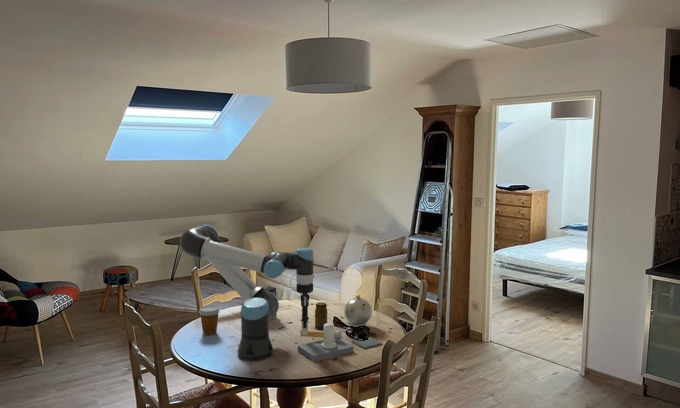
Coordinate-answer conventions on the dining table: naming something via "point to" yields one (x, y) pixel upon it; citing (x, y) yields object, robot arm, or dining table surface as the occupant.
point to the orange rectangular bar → (321, 334)
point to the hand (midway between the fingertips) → (304, 334)
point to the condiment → (320, 316)
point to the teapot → (358, 312)
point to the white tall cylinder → (328, 337)
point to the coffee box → (272, 290)
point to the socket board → (324, 350)
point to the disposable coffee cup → (209, 319)
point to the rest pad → (367, 343)
